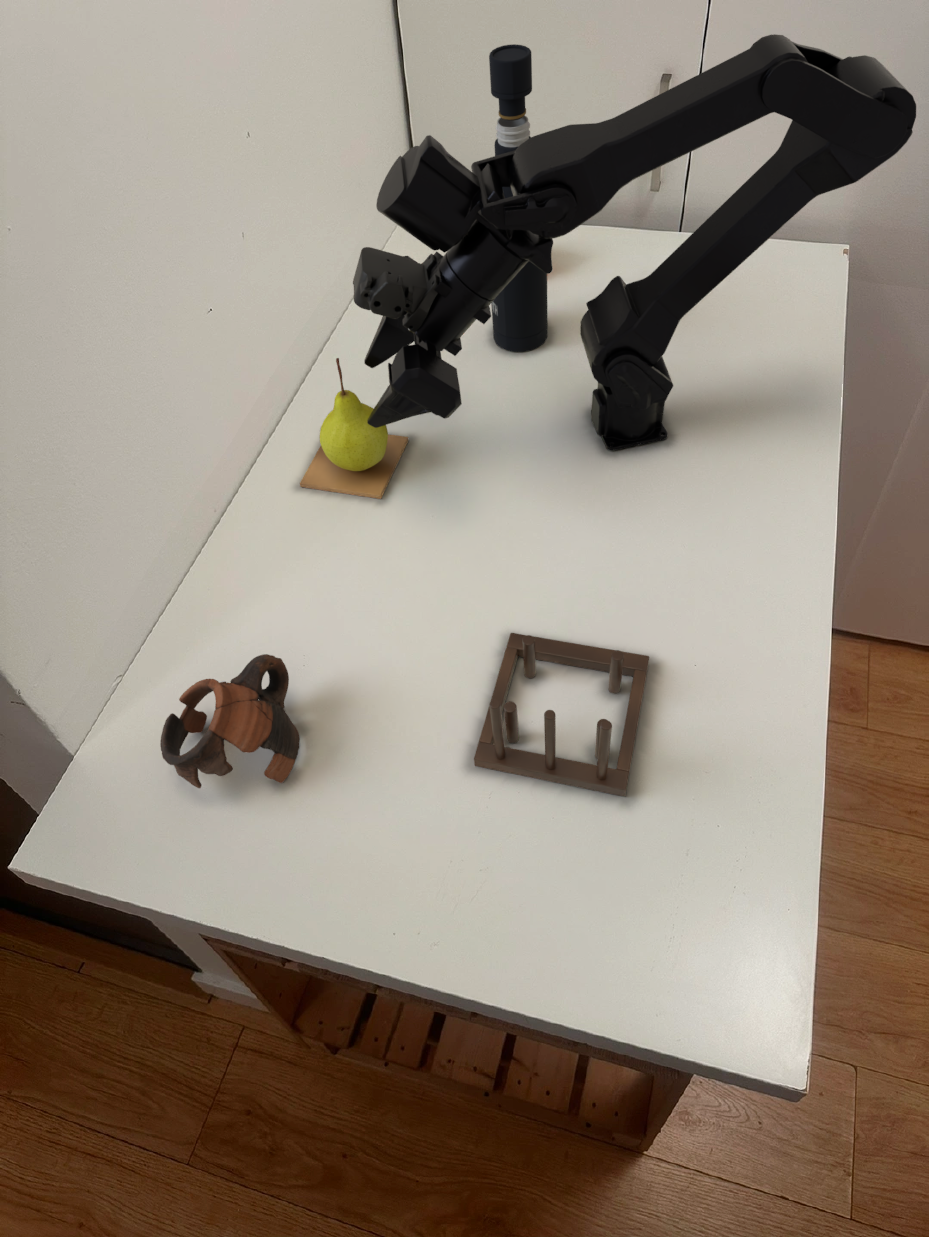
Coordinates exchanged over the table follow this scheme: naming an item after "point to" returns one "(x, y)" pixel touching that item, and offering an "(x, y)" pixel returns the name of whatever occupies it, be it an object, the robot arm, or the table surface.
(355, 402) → the fruit
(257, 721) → the broken clay pot
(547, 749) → the rack
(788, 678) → the table surface
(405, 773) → the table surface
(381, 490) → the mat
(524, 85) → the black bottle
